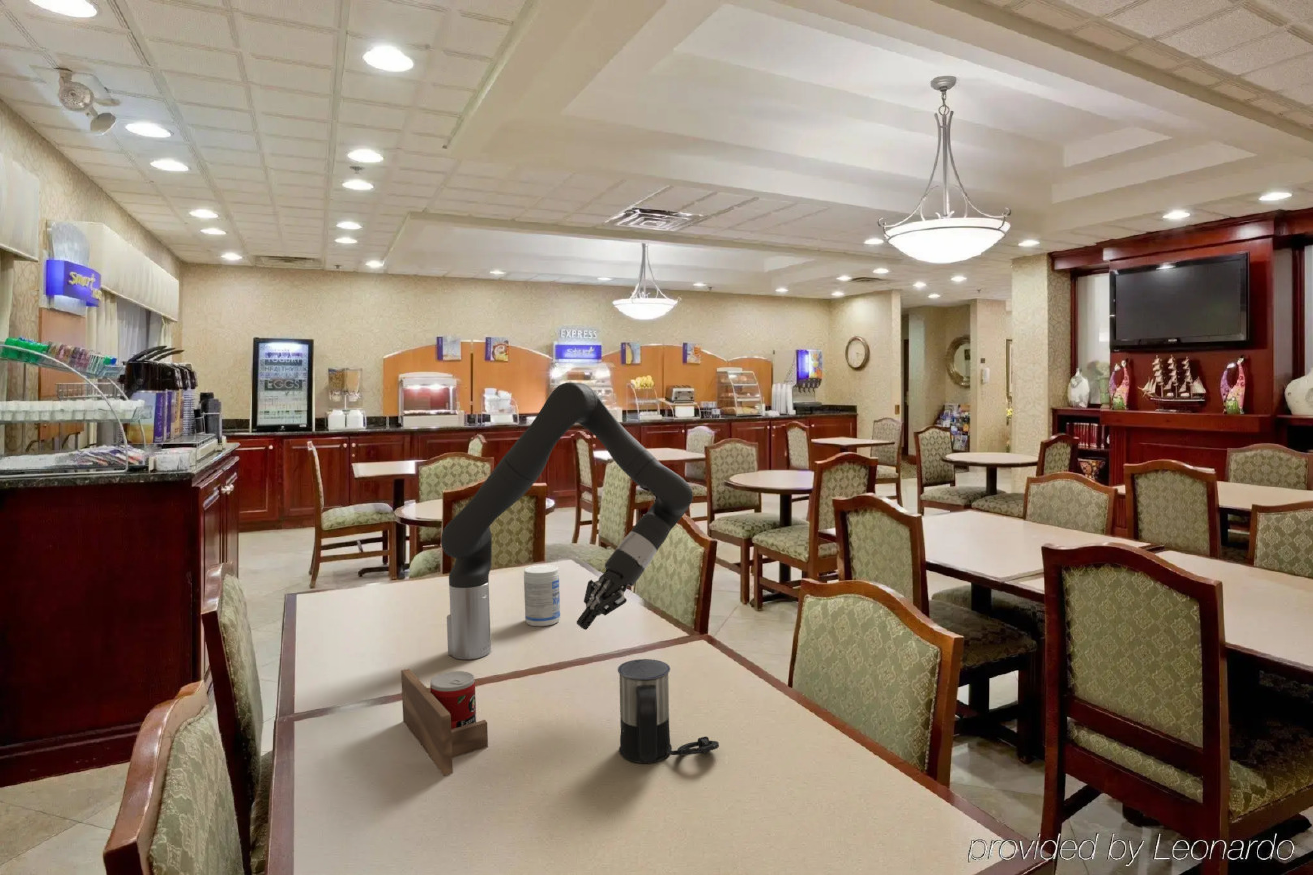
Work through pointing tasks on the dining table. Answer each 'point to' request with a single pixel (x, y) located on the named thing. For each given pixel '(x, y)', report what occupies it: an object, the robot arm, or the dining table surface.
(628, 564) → the robot arm
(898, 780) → the dining table surface
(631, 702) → the milk frother
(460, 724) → the canned food
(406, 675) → the walnut stop
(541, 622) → the supplement tub
